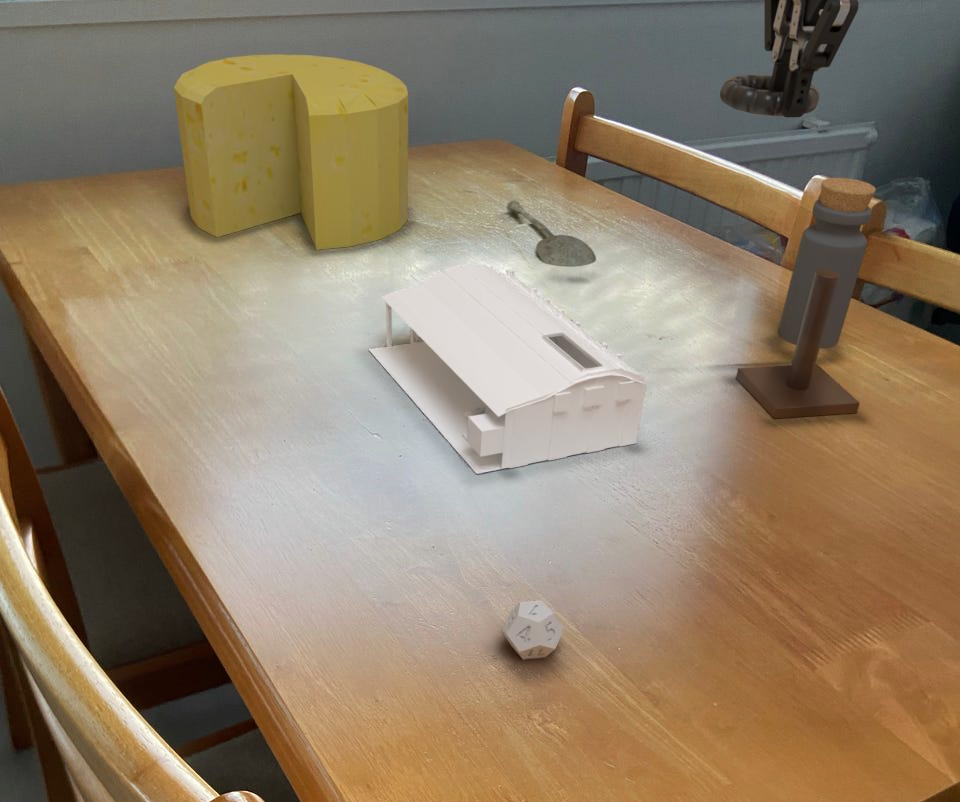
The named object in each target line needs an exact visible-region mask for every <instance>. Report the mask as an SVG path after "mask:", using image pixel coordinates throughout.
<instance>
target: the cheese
mask: <svg viewBox="0 0 960 802" xmlns="http://www.w3.org/2000/svg"><path fill="white" fill-rule="evenodd" d="M407 87H408V86H407V85H406V84H405V83H404V82H403V81H402V80H401V79H400V78H398V77H397V76H395V75H393V74H392V73H390V72H388V71H386V70H383V69H381V68H380V67H377V66H373V65H370V64H367V63H363V62H360V61H356V60H349V59H344V58H338V57H330V56H320V55H309V54H285V53H284V54H280V53H279V54H251V55H242V56H241V55H240V56H233V57H225V58H221V59H217V60H216V59H215V60H212V61H208V62H206V63H202V64H200V65H199V66H197V67H195V68H193V69H190V70H188V71H185V72H183V73H182V74H181V75H180V76H179V78H178V79H177V81H176V83H175V84H174V86H173V91H174V100H175V107H176V115H177V116H176V117H177V122H178V130H179V138H180V144H181V153H182V154H181V155H182V160H183V161H182V162H183V168H184V169H183V170H184V176H185V184H186V190H187V200H188V207H189V214H190V218H191V220H192V221H193V223H194V224H195V226H196V227H197V228H198V229H200V230H202V231H204V232H206V233H207V234H210V235H211V236H213V237H215V238H220V237H223V236H226V235H230V234H234V233H237V232H240V231H244V230H246V229H250V228H251V229H252V228H254V227H257V226H260V225H264V224H267V223H271V222H275V221H278V220H281V219H284V218H288V217H292V216H295V215H298V214H301V216H302V219H303V221H304V223H305V226H306V228H307V231H308V233H309V235H310V238H311V241H312V243H313V245H314V248H315V250H316V251H320V250H330V249H341V248H349V247H354V246H359V245H363V244H368V243H372V242H375V241H376V242H377V241H380V240H382V239H384V238H386V237H388V236H391V235H393V234H394V233H396V232H399V231H400V230H401V229H402V228H403V226H404V225H405V224H406V223H407V222H408V221H409V91H408V88H407Z"/></svg>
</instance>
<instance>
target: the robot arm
mask: <svg viewBox="0 0 960 802" xmlns="http://www.w3.org/2000/svg"><path fill="white" fill-rule="evenodd" d="M859 5H860V3H859V0H764V50H765V52H771V54H770V55H771V56H770V60H771V62H772V63H773V69H772V74H771V76H772V78H771V83H770V88H769V91H777V92H783V97H782V101H781V106H780V114H781V115H782V116H781V117H784V118H801V117H803V116H804V115H805V114H804V112H805V108H806V104H807V99H808V95H809V91H810V86H811V85H812V82H813V77H814V74H815V72H818V71H819V69H822V68H830V66H831V65H832V63H833V61H834V59H835V57H836V54H837V53H838V51H839V49H840V47H841V45H842V43H843V41H844V39H845V37H846V35H847V33H848V31H849V29H850V27H851V25H852V23H853V21H854V19H855V17H856V16H857V13H858V11H859ZM806 42H807V43H806ZM805 43H806V44H805ZM824 47H825V48H824Z"/></svg>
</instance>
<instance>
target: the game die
mask: <svg viewBox="0 0 960 802" xmlns="http://www.w3.org/2000/svg"><path fill="white" fill-rule="evenodd" d="M501 632H502V633H503V635H504V637H505V639H506V640H507V642H508V644H510V646H511V648H513V650H514V651H515V652H516V654H518V656H519V657H520V658H521V659H522V660H523V661H525V660H536V659H545V658H547V656H549V655H550V654H551V653H552V652H554V651H555V650H556V648H557V646H558V644H559V642H560V639H561V637H562V634H563V632H564V627H563V626H562V624H561V622H560V621H559V619H558V617H557V615H556V614H555V612H554V611H553V610H552V609H551V608H550V607H549V606H548V605H547V604H546V602H544V601H543V599H539V600H527V601H519V602H518V603H517V604H516V605H515V606H514V607H513V608H512V609H511V610H510V611H509V612H508V616H507V617H506V620H505V622H504V625H503V627H502V629H501Z"/></svg>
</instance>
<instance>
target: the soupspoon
mask: <svg viewBox="0 0 960 802" xmlns="http://www.w3.org/2000/svg"><path fill="white" fill-rule="evenodd" d="M506 211H507V213H508V214H510V215H512V216H514V215H517V214H518V215H522V217H524V218H525V219H526V220H527V221H529V223H531V224H532V225H533V226H535V227H536V228H537V229H538V230H539V231H540V232H541V233H542V234H543V236H544V237H545V238H543V239H541V240H540V241H538V242H537V244H536V246H535V247H536V248H535V249H536V253H537V255H538V257H539V258H540V260H541V262H542V263H544V264H546V265H549V266H550V265H551V266H556V267H565V268H568V267H569V268H570V267H571V268H573V267H575V268H577V267H584V266H587V265H591V264H593V263H594V262H596V261H597V257H596V254H595V252H594V250H593V249H592V247H590V246H589V244H587V243H586V242H585V241H583V240H582V239H580V238H578V237H575V236H572V235H566V234H556V235H554V233H553V232H552V231H551V230H550V229H549V228H547V226H545V225H544V224H543V223H542V222H540V221H539V220H538V219H537V218H535V217H534V216H532V215H531V214H530V213H529V212H527V211H526V210H525V209H524V207H523V206H522V205H521V203H520V202H519V200H516V199H512V200H509V201H508V202H507V204H506Z"/></svg>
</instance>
